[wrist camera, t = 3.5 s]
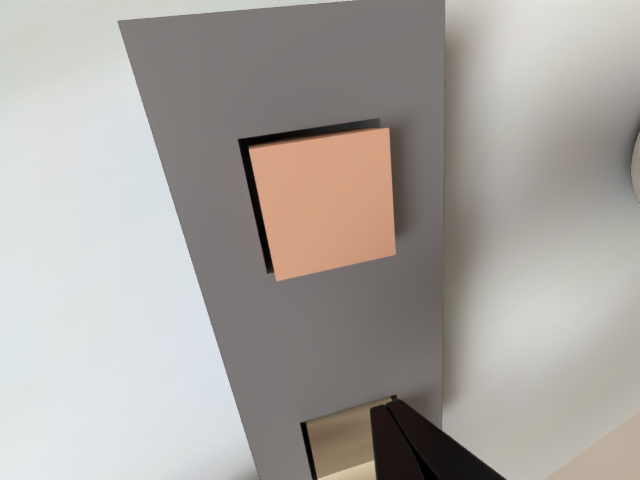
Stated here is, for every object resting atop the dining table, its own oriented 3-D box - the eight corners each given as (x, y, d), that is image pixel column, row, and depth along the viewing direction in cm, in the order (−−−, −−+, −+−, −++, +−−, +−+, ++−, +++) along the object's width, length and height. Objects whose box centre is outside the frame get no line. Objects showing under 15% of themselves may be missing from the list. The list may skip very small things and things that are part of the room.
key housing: (403, 417, 24) (441, 486, 19) (273, 458, 22) (279, 544, 18) (383, 35, 15) (445, -8, 10) (162, 58, 13) (117, 20, 9)
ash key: (384, 434, 19) (418, 509, 15) (313, 457, 18) (330, 541, 14) (380, 378, 17) (416, 446, 13) (301, 400, 16) (317, 479, 13)
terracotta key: (359, 224, 15) (395, 254, 11) (268, 242, 14) (276, 281, 11) (350, 128, 14) (389, 127, 10) (248, 144, 13) (248, 149, 9)
